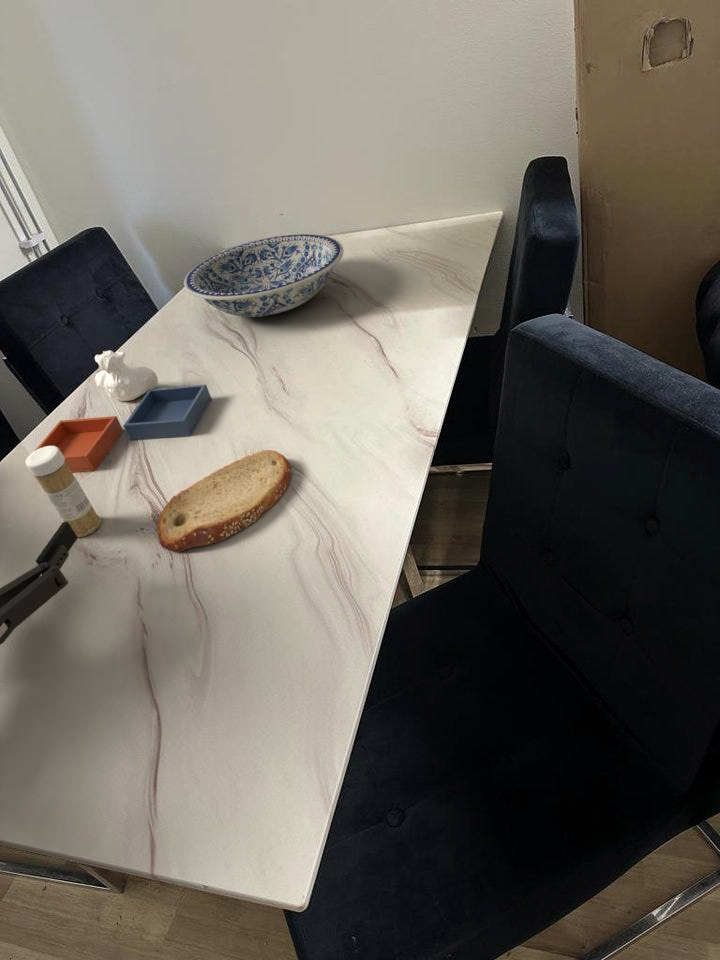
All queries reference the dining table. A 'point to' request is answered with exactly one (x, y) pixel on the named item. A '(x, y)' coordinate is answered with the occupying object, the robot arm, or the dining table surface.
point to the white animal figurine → (123, 377)
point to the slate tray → (168, 412)
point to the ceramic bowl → (265, 274)
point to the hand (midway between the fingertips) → (23, 531)
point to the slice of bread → (224, 501)
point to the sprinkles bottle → (63, 489)
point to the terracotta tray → (84, 441)
